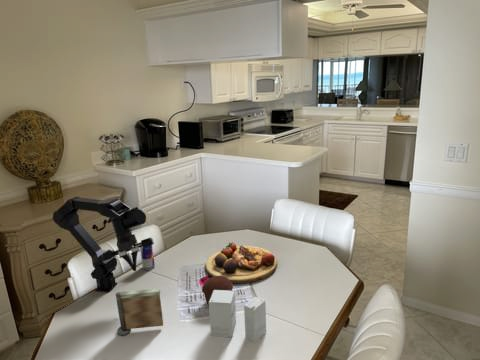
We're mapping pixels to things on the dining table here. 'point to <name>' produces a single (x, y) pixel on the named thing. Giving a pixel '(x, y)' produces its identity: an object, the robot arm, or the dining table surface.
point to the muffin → (216, 286)
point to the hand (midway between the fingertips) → (135, 270)
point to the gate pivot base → (123, 332)
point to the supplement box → (222, 313)
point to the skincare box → (255, 318)
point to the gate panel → (139, 309)
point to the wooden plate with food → (241, 263)
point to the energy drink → (147, 257)
